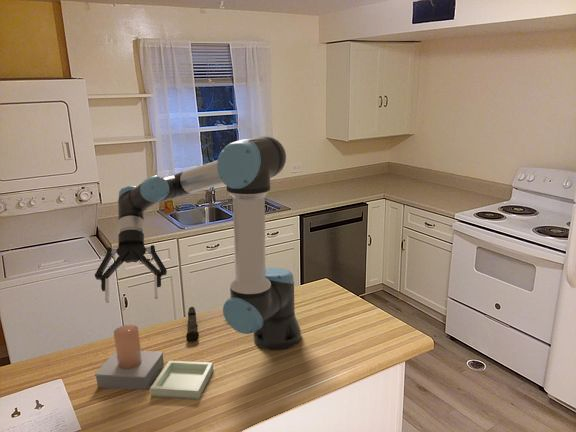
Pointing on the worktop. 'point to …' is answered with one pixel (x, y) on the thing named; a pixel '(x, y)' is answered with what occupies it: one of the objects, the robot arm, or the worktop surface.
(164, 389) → the tray
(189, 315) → the hand tool
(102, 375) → the grey square plinth
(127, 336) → the terracotta domed cylinder
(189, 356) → the worktop surface
